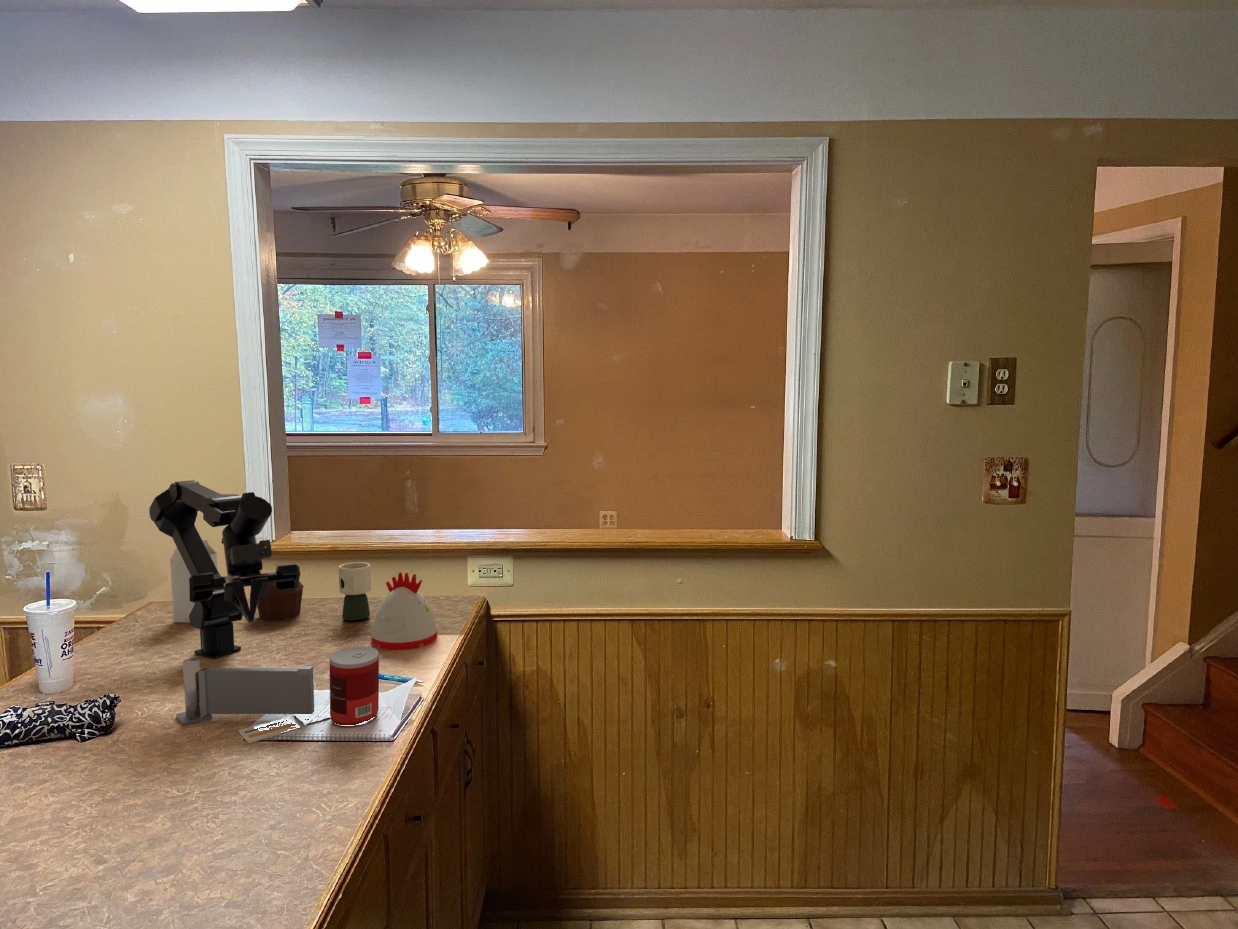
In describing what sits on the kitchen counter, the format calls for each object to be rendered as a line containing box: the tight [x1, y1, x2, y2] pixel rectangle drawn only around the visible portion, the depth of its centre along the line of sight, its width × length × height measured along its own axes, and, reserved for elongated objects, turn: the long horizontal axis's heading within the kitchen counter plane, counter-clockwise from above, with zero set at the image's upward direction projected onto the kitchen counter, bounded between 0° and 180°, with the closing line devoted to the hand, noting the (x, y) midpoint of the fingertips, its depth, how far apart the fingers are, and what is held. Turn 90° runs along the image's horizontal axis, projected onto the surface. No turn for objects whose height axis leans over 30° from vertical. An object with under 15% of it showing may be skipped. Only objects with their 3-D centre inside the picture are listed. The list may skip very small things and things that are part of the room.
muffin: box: [256, 580, 305, 622], centre depth 186 cm, size 12×11×10 cm
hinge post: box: [175, 657, 213, 727], centre depth 130 cm, size 4×4×10 cm
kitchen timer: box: [370, 571, 438, 651], centre depth 170 cm, size 14×14×15 cm
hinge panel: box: [198, 665, 315, 715], centre depth 130 cm, size 18×2×8 cm, turn 90°
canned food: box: [329, 645, 380, 726], centre depth 131 cm, size 8×8×11 cm
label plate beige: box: [238, 720, 296, 744], centre depth 127 cm, size 8×5×1 cm, turn 132°
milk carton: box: [169, 539, 218, 623], centre depth 183 cm, size 7×7×19 cm
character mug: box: [338, 561, 372, 622], centre depth 184 cm, size 11×7×13 cm, turn 16°
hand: (251, 621), depth 143 cm, fingers closed
